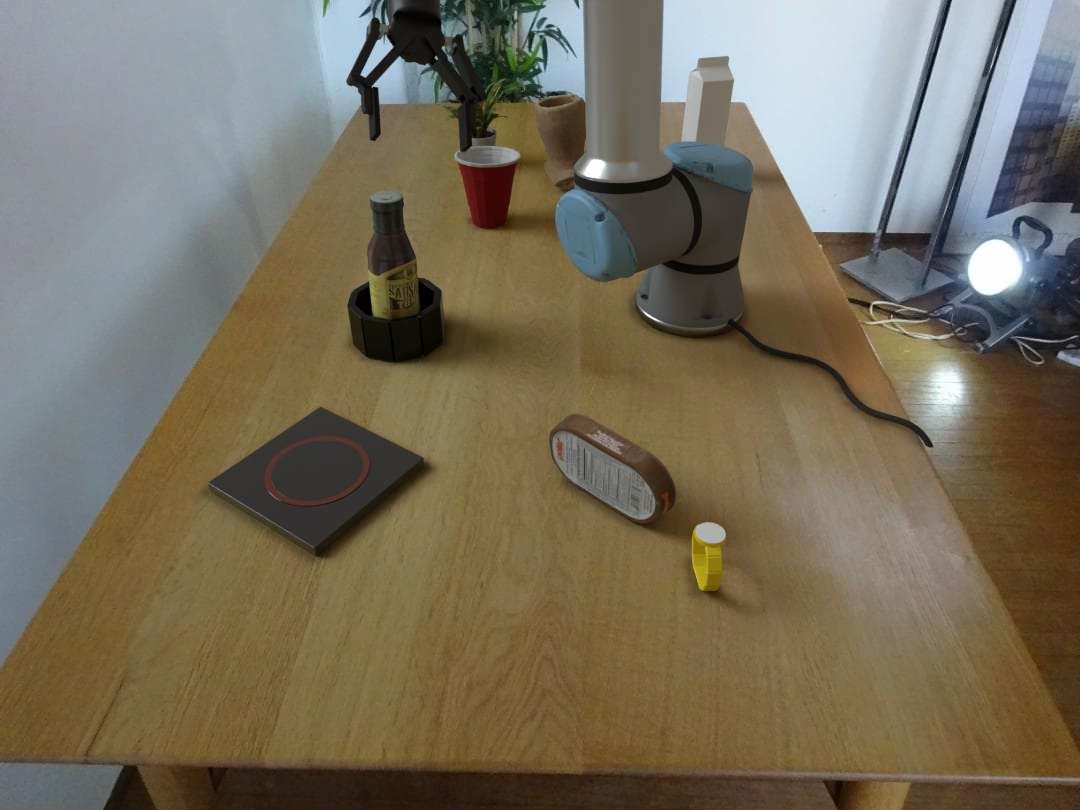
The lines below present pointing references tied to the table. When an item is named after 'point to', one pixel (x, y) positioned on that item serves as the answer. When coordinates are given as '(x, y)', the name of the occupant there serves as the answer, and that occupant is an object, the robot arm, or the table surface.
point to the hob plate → (316, 478)
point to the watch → (708, 555)
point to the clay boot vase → (562, 136)
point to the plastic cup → (488, 182)
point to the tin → (612, 469)
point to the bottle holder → (397, 326)
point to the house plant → (481, 118)
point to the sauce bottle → (391, 260)
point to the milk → (708, 101)
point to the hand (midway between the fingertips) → (422, 143)
